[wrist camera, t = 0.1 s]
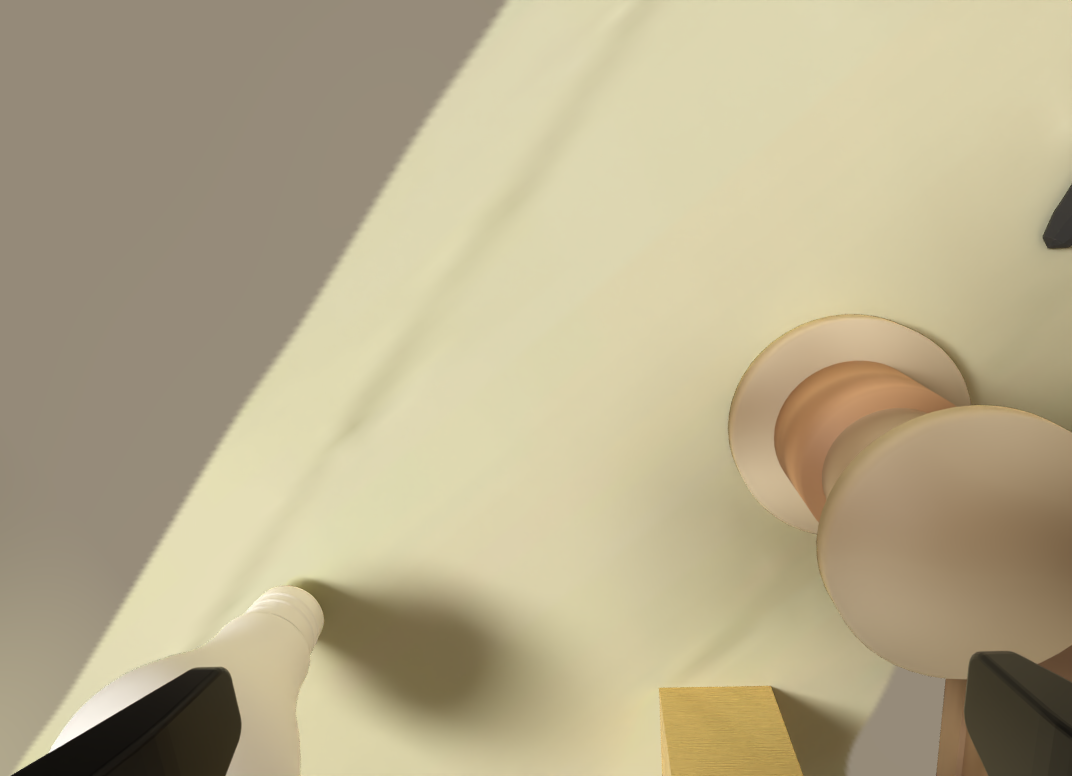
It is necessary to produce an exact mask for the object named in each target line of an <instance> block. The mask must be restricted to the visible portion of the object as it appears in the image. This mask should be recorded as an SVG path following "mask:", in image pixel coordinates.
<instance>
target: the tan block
mask: <svg viewBox="0 0 1072 776" xmlns="http://www.w3.org/2000/svg"><path fill="white" fill-rule="evenodd" d="M659 698H660V726H661V754H662V776H803V773H802V771H801V768H800V765H799V762H798V760H797V757H796V754H795V751H794V749H793V746H792V743H791V740H790V738H789V735H788V732H787V729H786V727H785V724H784V721H783V718H782V716H781V713H780V710H779V707H778V704H777V702H776V699H775V696H774V693H773V691H772V688H771V686H742V687H680V688H659Z"/></svg>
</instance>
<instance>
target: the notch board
mask: <svg viewBox="0 0 1072 776" xmlns="http://www.w3.org/2000/svg"><path fill="white" fill-rule="evenodd" d="M1038 665H1040V666H1042V667H1044V668H1046V669H1048V670H1050V671H1052V672H1054V673H1055V674H1057V675H1059V676H1061V677H1063V678H1065V679H1067V680H1069V681H1071V682H1072V645H1071V646H1069V647H1068V648H1066V649H1065V650H1063V651H1062V652H1060V653H1059V654H1057V655H1055V656H1053V657H1051V658H1049V659H1047V660H1045V661H1043V662H1041V663H1038ZM966 684H967V679H946V682H945V692H944V702H943V713H942V722H941V732H940V742H939V752H938V763H937V773H936V776H988V775H987V773H986V770H985V768H984V766H983V764H982V762H981V760H980V757H979V755H978V753H977V751H976V749H975V747H974V744H973V742H972V740H971V738H970V736H969V733H968V731H967V728H966V724H965V719H964V702H965V693H966Z"/></svg>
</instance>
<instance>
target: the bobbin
mask: <svg viewBox="0 0 1072 776" xmlns="http://www.w3.org/2000/svg"><path fill="white" fill-rule="evenodd" d="M728 435H729V444H730V448H731V453H732V456H733V459H734V461H735V464H736V466H737V468H738V470H739V472H740V474H741V476H742V478H743V480H744V482H745V483H746V485H747V487H748V489H749V491H750V492H751V493H752V495H753V496H754V497H755V498H756V500H757V501H758V502H759V503H760V504H761V505H762V506H763V507H764V508H765V509H766V510H767V511H768V512H770V513H771V514H772V515H774V516H775V517H776V518H778V519H779V520H781V521H783V522H785V523H787V524H788V525H790V526H793V527H795V528H798V529H800V530H803V531H806V532H810V533H814V534H817V541H816V546H817V561H818V566H819V571H820V575H821V577H822V580H823V583H824V586H825V588H826V590H827V592H828V594H829V596H830V597H831V599H832V601H833V603H834V604H835V606H836V608H837V610H838V611H839V613H840V615H841V616H842V618H843V620H844V622H845V623H846V624H847V626H848V627H849V628H850V630H851V631H852V632H853V634H854V635H855V636H856V637H857V638H858V639H859V640H860V641H861V642H862V643H863V644H864V645H865V646H866V647H867V648H869V649H870V650H872V651H873V652H874V653H876V654H877V655H878V656H880V657H881V658H883V659H885V660H887V661H889V662H891V663H892V664H894V665H896V666H899V667H901V668H904V669H907V670H909V671H912V672H916V673H919V674H923V675H927V676H933V677H939V678H946V679H967V674H968V665H969V661H970V658H971V656H972V655H973V654H974V653H976V652H979V651H1011V652H1015V653H1017V654H1019V655H1021V656H1023V657H1025V658H1027V659H1029V660H1030V661H1032V662H1034V663H1036V664H1038V663H1041V662H1043V661H1045V660H1047V659H1049V658H1051V657H1053V656H1055V655H1057V654H1059V653H1060V652H1062V651H1063V650H1065V649H1066V648H1068V647H1069V646H1071V645H1072V432H1070V431H1068V430H1066V429H1064V428H1062V427H1060V426H1059V425H1057V424H1055V423H1053V422H1051V421H1049V420H1047V419H1044V418H1042V417H1039V416H1037V415H1035V414H1032V413H1029V412H1026V411H1022V410H1018V409H1014V408H1009V407H1001V406H993V405H971V400H970V396H969V393H968V389H967V386H966V383H965V381H964V379H963V377H962V375H961V373H960V371H959V370H958V368H957V366H956V365H955V363H954V362H953V360H952V359H951V358H950V357H949V356H948V355H947V354H946V353H945V352H944V351H943V350H942V349H941V348H940V347H939V346H937V345H936V344H935V343H934V342H933V341H931V340H930V339H928V338H926V337H925V336H923V335H921V334H920V333H918V332H916V331H913V330H911V329H909V328H907V327H905V326H902V325H900V324H898V323H895V322H893V321H890V320H887V319H883V318H879V317H876V316H868V315H860V314H845V315H837V316H829V317H825V318H821V319H817V320H813V321H811V322H808V323H805V324H803V325H800V326H798V327H796V328H794V329H792V330H790V331H789V332H787V333H785V334H783V335H782V336H781V337H779V338H778V339H776V340H775V341H773V342H772V343H771V344H770V345H769V346H768V347H766V348H765V349H764V350H763V351H762V352H761V353H760V354H759V355H758V356H757V357H756V359H755V360H754V361H753V362H752V363H751V364H750V366H749V367H748V369H747V370H746V372H745V373H744V375H743V376H742V378H741V380H740V382H739V384H738V386H737V388H736V391H735V394H734V397H733V399H732V403H731V407H730V412H729V421H728Z"/></svg>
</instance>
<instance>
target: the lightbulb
mask: <svg viewBox="0 0 1072 776" xmlns="http://www.w3.org/2000/svg"><path fill="white" fill-rule="evenodd" d="M323 625H324V616H323V611H322V609H321V607H320V605H319V603H318V602H317V600H316V599H315V598H314V597H313V596H312V595H311V594H310V593H308V592H307V591H305V590H303V589H301V588H298V587H295V586H288V585H283V586H276V587H273V588H271V589H268V590H267V591H266V592H264V593H263V594H262V595H261V596H260V597H259V598H258V599H257V600H256V601H255V602H254V603H253V604H252V606H250V607H249V608H248V610H247V611H246V612H245V613H244V614H242V615H240V616H238V617H236V618H234V619H232V620H231V621H230V622H228V623H227V624H226V625H225V626H224V627H223V628H222V629H221V630H220V631H219V632H218V633H217V634H216V635H215V636H214V637H213V638H212V639H210V640H209V641H208V642H206V643H205V644H204V645H202V646H200V647H198V648H196V649H194V650H192V651H188V652H184V653H179V654H175V655H171V656H168V657H165V658H162V659H159V660H157V661H154V662H151V663H148V664H145V665H142V666H140V667H138V668H136V669H133V670H131V671H129V672H127V673H125V674H123V675H122V676H120V677H119V678H117V679H116V680H114V681H113V682H111V683H110V684H108V685H107V686H105V687H104V688H103V689H101V690H100V691H99V692H97V693H96V694H95V695H93V696H92V697H91V698H90V699H89V700H88V701H87V702H86V703H85V704H84V705H83V706H82V707H81V708H80V709H79V710H78V711H77V712H76V713H75V714H74V716H73V717H72V718H71V719H70V721H69V722H68V723H67V724H66V726H65V727H64V728H63V730H62V732H61V733H60V735H59V736H58V738H57V739H56V741H55V742H54V744H53V746H52V747H51V750H50V752H52V751H53V750H55V749H57V748H58V747H60V746H62V745H63V744H65V743H67V742H68V741H70V740H72V739H73V738H75V737H77V736H79V735H80V734H82V733H84V732H85V731H87V730H89V729H90V728H92V727H94V726H95V725H97V724H99V723H100V722H102V721H104V720H106V719H107V718H109V717H111V716H112V715H114V714H116V713H117V712H119V711H121V710H122V709H124V708H126V707H127V706H129V705H131V704H133V703H134V702H136V701H138V700H139V699H141V698H143V697H144V696H146V695H148V694H149V693H151V692H153V691H154V690H156V689H158V688H159V687H161V686H163V685H165V684H166V683H168V682H170V681H171V680H173V679H175V678H176V677H178V676H180V675H181V674H183V673H185V672H186V671H188V670H190V669H192V668H196V667H224V668H226V669H227V670H228V671H229V673H230V674H231V677H232V681H233V686H234V690H235V694H236V698H237V703H238V707H239V711H240V715H241V722H242V728H241V735H240V739H239V742H238V745H237V748H236V750H235V753H234V756H233V758H232V761H231V763H230V766H229V769H228V771H227V774H226V776H300V768H301V756H300V739H299V729H298V723H297V718H296V703H297V698H298V695H299V691H300V688H301V686H302V684H303V682H304V680H305V677H306V675H307V673H308V670H309V666H310V655H311V653H312V651H313V648H314V646H315V645H316V643H317V639H318V637H319V635H320V633H321V631H322V629H323ZM50 752H49V753H50Z"/></svg>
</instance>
